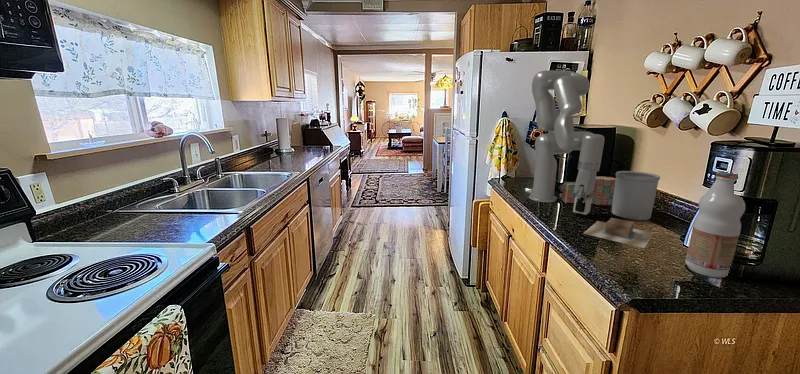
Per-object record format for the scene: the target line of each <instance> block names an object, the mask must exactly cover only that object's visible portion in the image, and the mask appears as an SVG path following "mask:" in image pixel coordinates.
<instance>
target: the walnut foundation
mask: <svg viewBox="0 0 800 374" xmlns="http://www.w3.org/2000/svg"><path fill="white" fill-rule="evenodd" d="M605 223H606V228H605V233H606V234H611V235H615V236H619V237H624V238H629V237H630V235H631V234H632V233H633V228H634V227H635V222H634V221H630V220H625V219H620V218H616V217H615V218H614V217H610V218H609V220H607V221H605Z"/></svg>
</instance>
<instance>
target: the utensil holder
mask: <svg viewBox="0 0 800 374" xmlns="http://www.w3.org/2000/svg"><path fill="white" fill-rule="evenodd" d="M615 178H616V181H615V188H614V196H613V203H612V205H611V213H612V214H613V215H615V216H617V217H620V218H625V219H629V220H635V221H646V220H650V219H651V217H652V213H653V208H654V204H655V200H656V195H657V191H658V185H659V181H660V179H661V175H659V174H656V173H650V172H643V171H633V170H632V171H631V170H620V171H619V170H618V171H616V172H615Z"/></svg>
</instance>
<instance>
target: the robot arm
mask: <svg viewBox="0 0 800 374" xmlns="http://www.w3.org/2000/svg"><path fill="white" fill-rule="evenodd" d="M590 87H591V83H590V80H589V78H588V77H587V76H585V75H583V74H580V73H578V72H575V71H572V70H550V69H547V70H541V71H538V72H537V73H536V74H535V75H534V76H533V78H532V82H531V91H532V96H533V99H534V103H535V114H536V125H537V128H538V130H539V131H541V132H552V133H542V134H539V135H538V136H537V137H536V139H535V142H534V147H535V165H534V174H533V175H534V176H533V183H532V184H533V185H532V188H529V187H525V189H524V192H525V193H528V194H529V195H528V198H529V199H530V200H532V201H534V202H538V203H554V202H555V203H556V202H557V200H558V197H557V196H555V195H554V194H555V186H556V180H557V179H556V178H557V170H558V163H557V159H556V158H555V155H558V154H559V155H566V154H569V153H571V152H572V151H579V157H578V164H577V170H578V172H577V176H576V180H575V182H576V184H575V189H574V194H577V193H578V194H577V201H576V207H575V211H578V212H584V209H585V199H586V197H590V196H591V193H592V192H593V190H594V186H595V180H596V176H597V172H600V168H601V163H602V157H603V153H604V152H603V151H604V146H605V138H606V137H605V136H604V135H602V134H599V133H596V134H595V133H593V132H591V131H585V130H583V131H578V130H577V131H575V126H574V124H575V123H574V118H573V116H575V115H577V114H578V113H579V112H580V111H581V110H582V109H583V103H582V100H581V97H582V96H586V95H587V93H588V92H589V91H590ZM549 90H550V91H551V90H552V91H553V90H554V94H555V98H556V101H557V106H558V109H559V110H557V109H556V108H557V107H556V101H555V98H554V96H553V95H552V93H551V92H550V91H549ZM553 132H554V133H553ZM582 196H584V198H583V197H582Z"/></svg>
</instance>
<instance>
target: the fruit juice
mask: <svg viewBox="0 0 800 374" xmlns="http://www.w3.org/2000/svg"><path fill="white" fill-rule="evenodd" d="M724 171H725V170H718V171H716V173H715V181H714V182H713V184H712V185H711V187H710V188H709V189H708V191H707V192H706V193H704V194H703V195H702V196H701V197H700V199H699V201H698V210H699V211H698V213H697V214H696V216H695V218H694V221H693V224H692V230H691V234H690V238H689V241H688V242H689V243H688V247H687V252H686V257H685V261H684V263H685V265H686V268H687V269H688V270H690V271H691V272H694V273H696V274H699V275H702V276H706V277H710V278H726V276H727V277H728V276H729V275H728V273H729V270H730V271H731V269H730V266H731V267H732V265H731V263H732V264H733V262H732V261H734V257H735V254H736V249H737V247H738V241H739V238H740V234H741V231H742V222H741V218H742V216H743V214H744V213H745V211H746V202H745V200H744V198H743V197H740V196H738V195H735V194H734V182H735V181H737V179H738V174H733V173H728V172H729V171H728V172H724ZM729 274H730V273H729Z"/></svg>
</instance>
